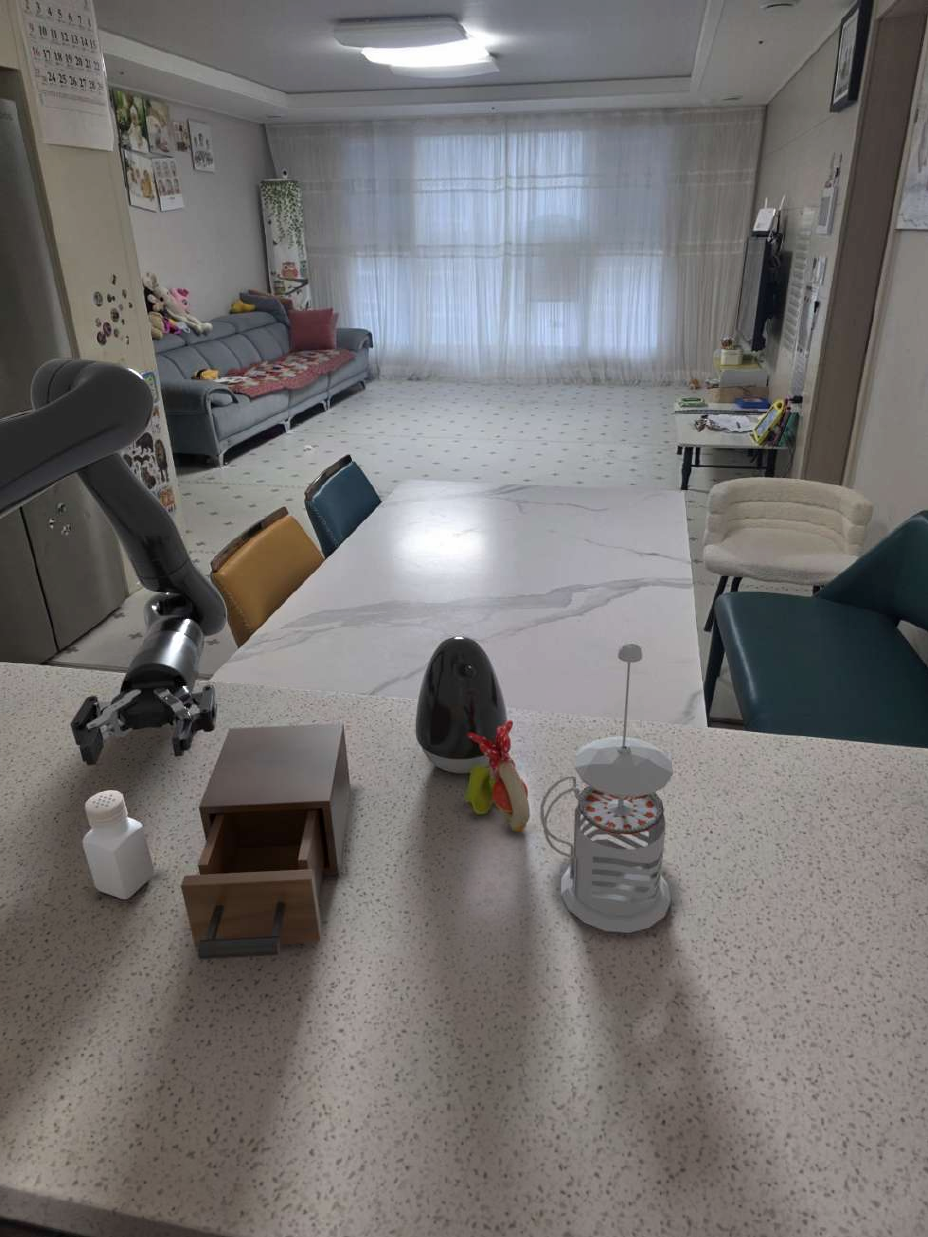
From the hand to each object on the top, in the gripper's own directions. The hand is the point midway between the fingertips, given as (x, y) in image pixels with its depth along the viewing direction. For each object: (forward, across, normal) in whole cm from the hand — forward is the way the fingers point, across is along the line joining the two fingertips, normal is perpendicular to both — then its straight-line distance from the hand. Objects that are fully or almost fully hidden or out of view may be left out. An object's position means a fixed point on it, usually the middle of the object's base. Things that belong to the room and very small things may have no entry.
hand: (133, 753), depth 82 cm
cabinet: (+6, +14, +8) cm, 17 cm away
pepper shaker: (+10, 0, +8) cm, 13 cm away
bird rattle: (+7, +36, +8) cm, 38 cm away
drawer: (+17, +13, +7) cm, 23 cm away
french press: (+19, +43, +8) cm, 48 cm away
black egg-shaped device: (-4, +34, +8) cm, 35 cm away
